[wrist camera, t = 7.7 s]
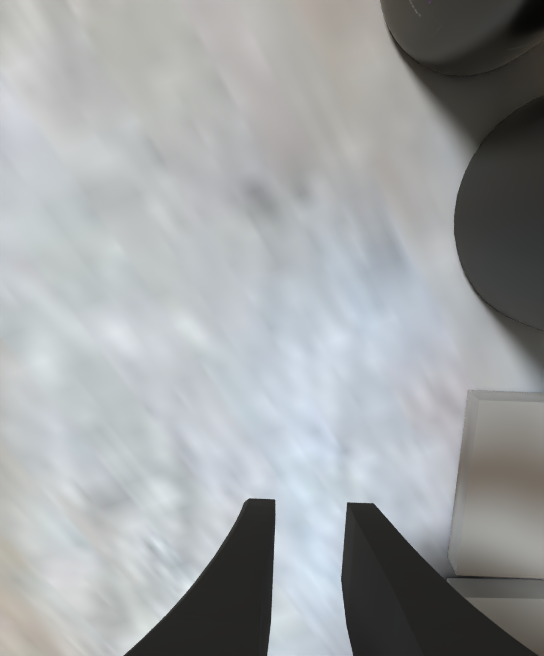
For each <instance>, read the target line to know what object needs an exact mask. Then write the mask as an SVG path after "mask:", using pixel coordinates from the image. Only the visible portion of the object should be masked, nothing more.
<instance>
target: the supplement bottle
mask: <svg viewBox="0 0 544 656" xmlns="http://www.w3.org/2000/svg"><path fill="white" fill-rule="evenodd" d="M380 2H381V7H382V11H383V14H384V18H385V20H386V23H387V25H388V27H389V29H390V31H391V33H392V35H393V37H394V38H395V40H396V41H397V43H398V44H399V45H400V47H401V48H402V49H403V50H404V51H405V52H406V53H407V54H408V55H409V56H410V57H411V58H413V59H414V60H415V61H416V62H418V63H420V64H421V65H423V66H425V67H427V68H429V69H431V70H433V71H436V72H439V73H443V74H448V75H456V76H467V75H476V74H481V73H485V72H488V71H492V70H494V69H496V68H499V67H501V66H503V65H505V64H507V63H509V62H511V61H512V60H514V59H516V58H517V57H519V56H520V55H522V54H524V53H525V52H527V51H528V50H530V49H531V48H533V47H534V46H536V45H537V44H539V43H540V42H542V41H543V40H544V0H380Z"/></svg>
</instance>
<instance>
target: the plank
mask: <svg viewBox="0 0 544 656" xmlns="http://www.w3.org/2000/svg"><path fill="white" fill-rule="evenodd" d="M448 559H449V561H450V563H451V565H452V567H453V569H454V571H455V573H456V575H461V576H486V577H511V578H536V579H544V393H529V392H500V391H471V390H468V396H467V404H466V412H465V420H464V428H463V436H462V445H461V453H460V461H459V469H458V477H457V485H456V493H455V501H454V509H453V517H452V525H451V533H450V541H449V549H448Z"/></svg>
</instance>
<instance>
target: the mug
mask: <svg viewBox="0 0 544 656" xmlns="http://www.w3.org/2000/svg"><path fill="white" fill-rule="evenodd" d="M454 235H455V241H456V247H457V252H458V255H459V258H460V261H461V265H462V268H463V269H464V271H465V273H466V275H467V277H468V279H469V281H470V282H471V284H472V285H473V287H474V288H475V289H476V291H477V292H478V293H479V294H480V296H481V297H482V298H483V299H484V300H485V301H487V302H488V303H489V304H490V305H491V306H492V307H493V308H495V309H496V310H498V311H499V312H501V313H502V314H504V315H505V316H507V317H509V318H511V319H514V320H516V321H518V322H521V323H523V324H526V325H528V326H531V327H534V328H536V329H539V330H541V331H544V95H542V96H540V97H538V98H536V99H534V100H532V101H530V102H529V103H527V104H526V105H524V106H522V107H521V108H519V109H517V110H516V111H515V112H513V113H512V114H510V115H509V116H508V117H507V118H506V119H504V120H503V121H502V122H501V123H500V124H498V125H497V126H496V127H495V129H494V130H493V131H492V132H491V133H490V134H489V135H488V136H487V137H486V139H485V140H484V141H483V143H482V144H481V145H480V147H479V148H478V150H477V151H476V153H475V154H474V156H473V157H472V159H471V161H470V163H469V165H468V167H467V169H466V171H465V174H464V176H463V179H462V182H461V185H460V188H459V191H458V194H457V200H456V206H455V215H454Z"/></svg>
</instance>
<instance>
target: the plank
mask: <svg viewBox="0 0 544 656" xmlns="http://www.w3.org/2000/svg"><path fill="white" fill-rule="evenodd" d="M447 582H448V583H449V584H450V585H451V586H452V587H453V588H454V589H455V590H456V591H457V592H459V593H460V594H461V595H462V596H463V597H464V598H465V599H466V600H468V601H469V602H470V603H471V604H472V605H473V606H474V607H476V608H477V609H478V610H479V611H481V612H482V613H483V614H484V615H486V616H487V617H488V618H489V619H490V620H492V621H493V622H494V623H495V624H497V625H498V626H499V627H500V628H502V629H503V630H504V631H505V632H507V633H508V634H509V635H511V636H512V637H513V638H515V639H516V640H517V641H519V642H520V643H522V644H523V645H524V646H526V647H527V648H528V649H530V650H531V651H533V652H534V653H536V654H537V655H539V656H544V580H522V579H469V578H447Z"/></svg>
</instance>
